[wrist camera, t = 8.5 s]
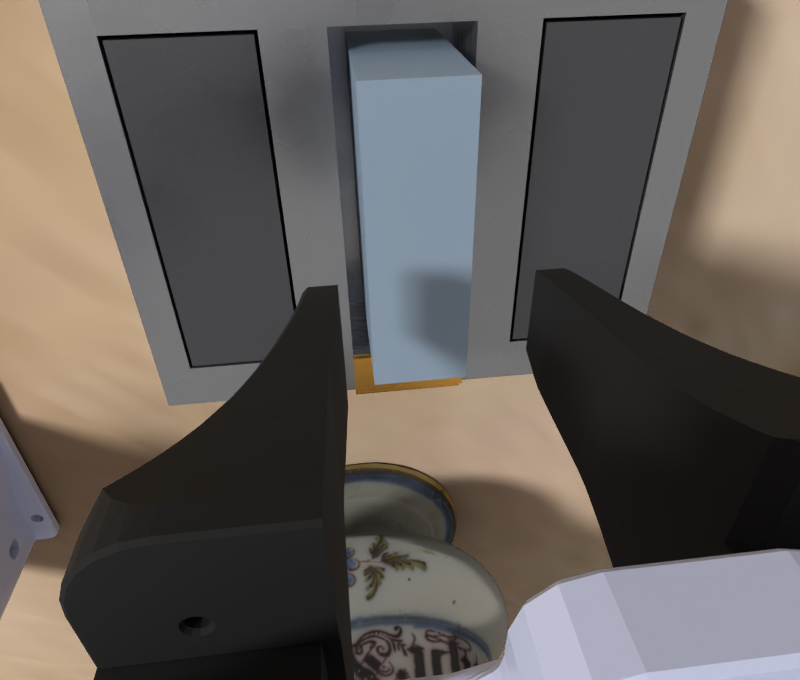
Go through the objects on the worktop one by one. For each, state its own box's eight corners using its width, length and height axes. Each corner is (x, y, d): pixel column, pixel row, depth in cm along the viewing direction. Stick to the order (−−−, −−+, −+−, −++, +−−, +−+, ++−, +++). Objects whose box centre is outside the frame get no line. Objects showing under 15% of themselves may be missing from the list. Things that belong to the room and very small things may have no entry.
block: (432, 273, 22) (466, 376, 17) (361, 278, 22) (374, 385, 17) (435, 28, 17) (481, 75, 12) (344, 32, 17) (356, 80, 12)
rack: (589, 312, 25) (633, 377, 21) (191, 345, 24) (170, 418, 20) (663, -66, 17) (748, -60, 14) (84, -49, 16) (22, -37, 13)
